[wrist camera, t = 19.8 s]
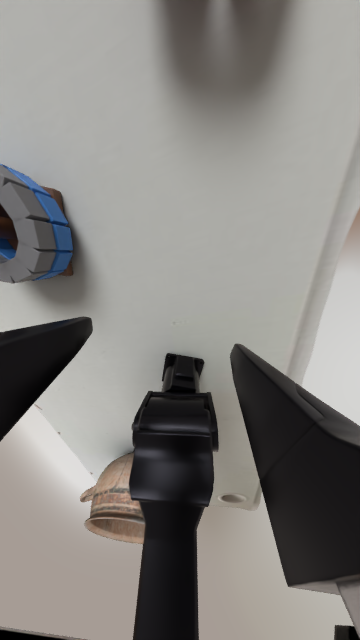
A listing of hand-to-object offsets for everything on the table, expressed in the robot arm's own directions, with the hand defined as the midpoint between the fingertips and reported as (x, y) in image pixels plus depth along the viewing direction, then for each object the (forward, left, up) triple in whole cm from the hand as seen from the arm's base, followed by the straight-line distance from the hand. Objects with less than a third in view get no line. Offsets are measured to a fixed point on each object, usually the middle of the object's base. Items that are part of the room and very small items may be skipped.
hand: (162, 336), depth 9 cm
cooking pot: (-48, +2, -12) cm, 50 cm away
